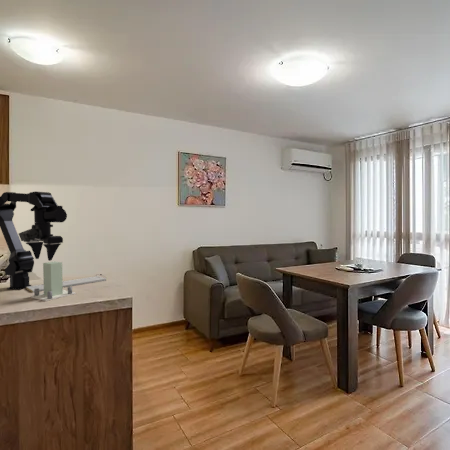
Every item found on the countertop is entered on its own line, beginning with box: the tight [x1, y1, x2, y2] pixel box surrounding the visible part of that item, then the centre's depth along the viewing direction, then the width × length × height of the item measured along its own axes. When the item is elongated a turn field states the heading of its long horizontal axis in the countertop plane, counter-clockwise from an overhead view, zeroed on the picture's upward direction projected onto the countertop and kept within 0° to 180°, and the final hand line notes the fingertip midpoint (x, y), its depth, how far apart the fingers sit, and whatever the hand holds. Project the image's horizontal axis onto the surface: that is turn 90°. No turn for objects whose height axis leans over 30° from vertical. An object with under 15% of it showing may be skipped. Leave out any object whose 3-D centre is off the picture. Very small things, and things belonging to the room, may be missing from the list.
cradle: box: [30, 286, 77, 302], centre depth 119 cm, size 10×12×3 cm
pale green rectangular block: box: [42, 260, 64, 296], centre depth 119 cm, size 5×4×12 cm
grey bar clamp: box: [25, 274, 107, 294], centre depth 139 cm, size 31×3×12 cm
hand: (43, 259), depth 126 cm, fingers open, 9 cm apart
